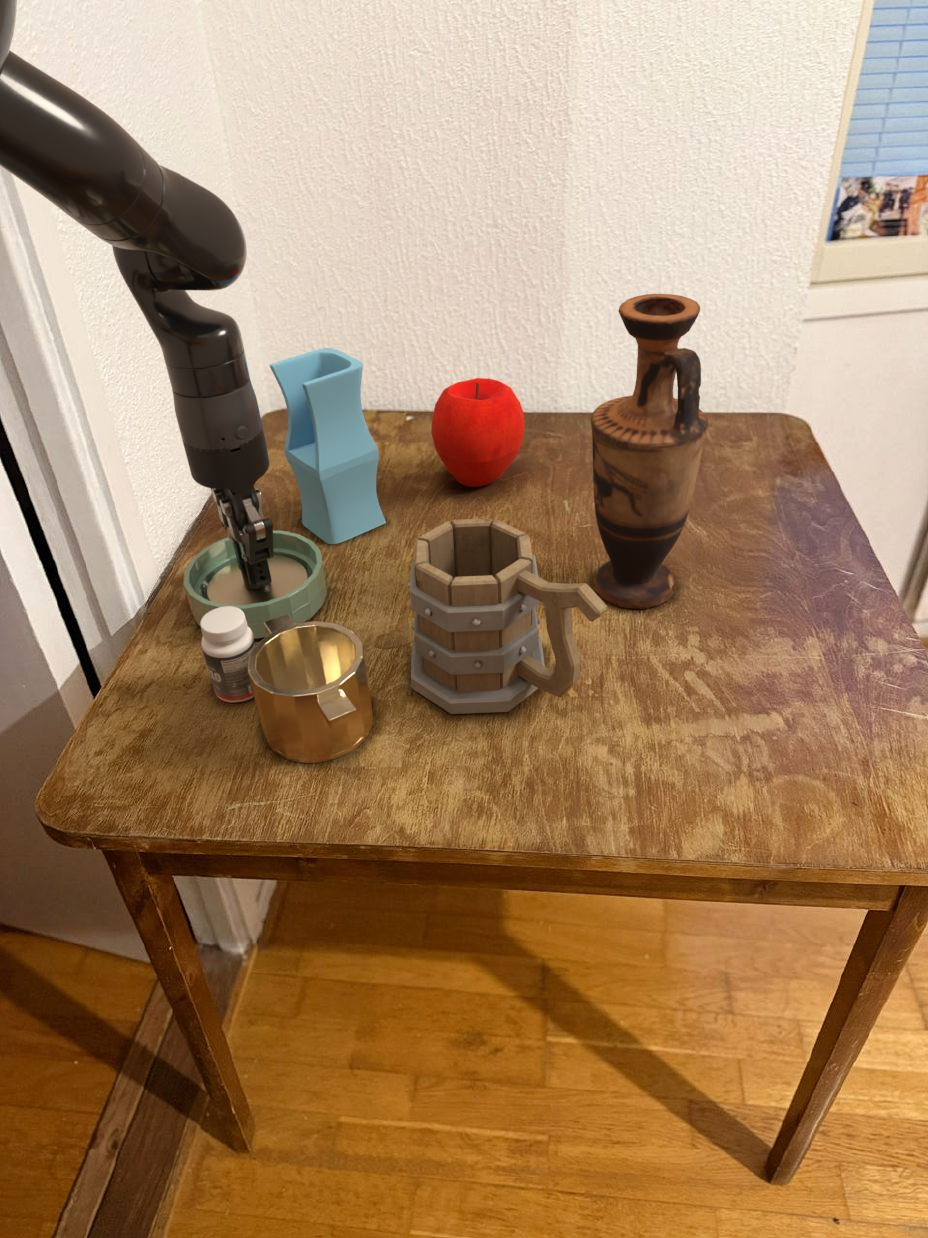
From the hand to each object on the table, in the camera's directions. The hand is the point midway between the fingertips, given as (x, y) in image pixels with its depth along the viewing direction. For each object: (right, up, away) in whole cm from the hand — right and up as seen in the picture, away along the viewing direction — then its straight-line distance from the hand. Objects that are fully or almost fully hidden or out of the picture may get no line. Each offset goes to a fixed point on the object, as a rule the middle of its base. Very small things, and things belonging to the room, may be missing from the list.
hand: (255, 576), depth 94 cm
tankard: (+26, -11, -10) cm, 30 cm away
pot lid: (0, -1, +1) cm, 1 cm away
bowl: (0, -3, +2) cm, 3 cm away
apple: (+24, +13, +21) cm, 34 cm away
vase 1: (+7, +7, +14) cm, 18 cm away
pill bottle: (+1, -11, -9) cm, 14 cm away
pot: (+9, -14, -13) cm, 21 cm away
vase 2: (+40, -1, +1) cm, 40 cm away
